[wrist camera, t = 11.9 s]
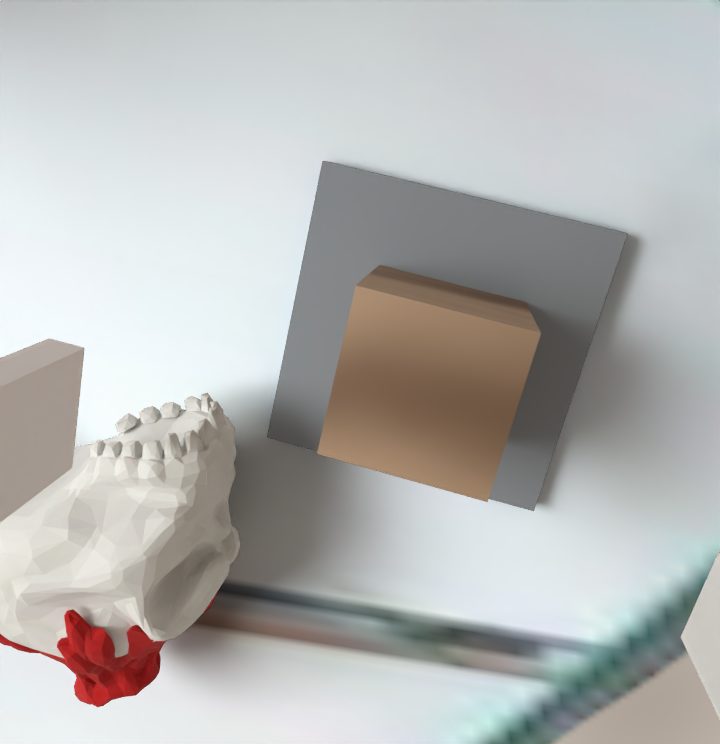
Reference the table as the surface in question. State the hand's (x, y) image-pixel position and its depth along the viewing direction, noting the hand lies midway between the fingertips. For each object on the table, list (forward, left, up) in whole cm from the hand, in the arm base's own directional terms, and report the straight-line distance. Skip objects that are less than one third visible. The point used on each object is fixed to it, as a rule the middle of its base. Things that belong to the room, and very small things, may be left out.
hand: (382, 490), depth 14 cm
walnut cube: (+1, 0, -15) cm, 15 cm away
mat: (0, 0, -16) cm, 16 cm away
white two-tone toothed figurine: (+12, -11, -16) cm, 23 cm away
